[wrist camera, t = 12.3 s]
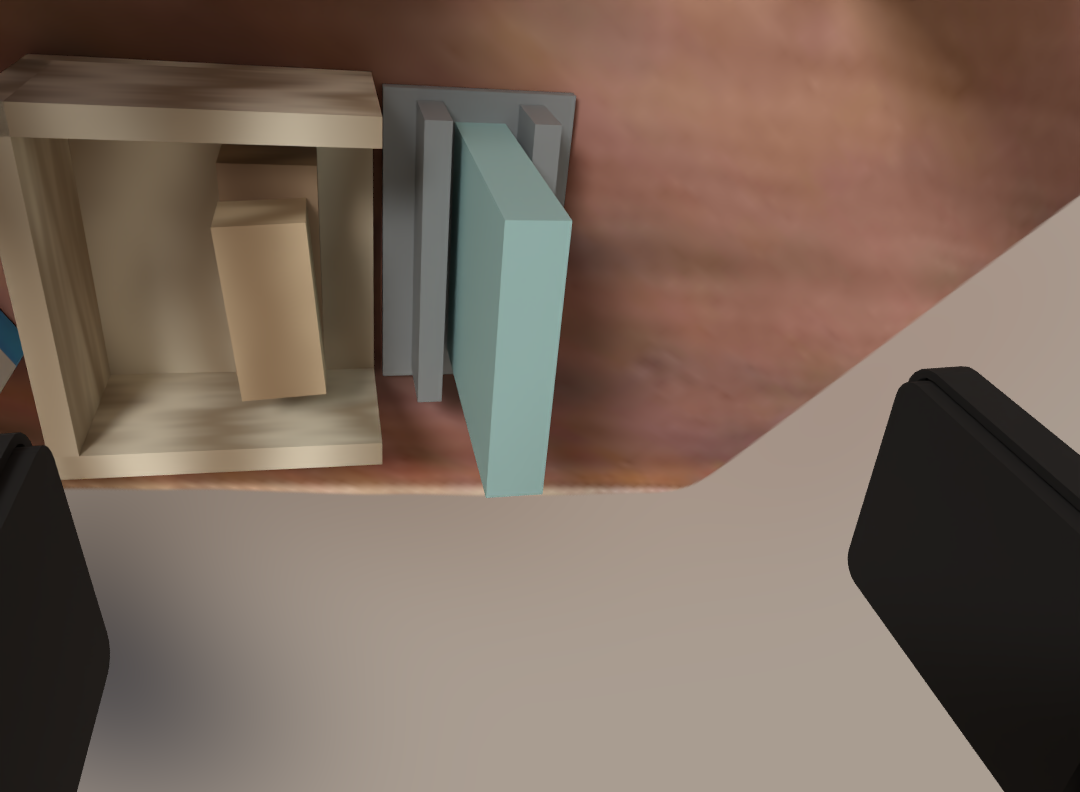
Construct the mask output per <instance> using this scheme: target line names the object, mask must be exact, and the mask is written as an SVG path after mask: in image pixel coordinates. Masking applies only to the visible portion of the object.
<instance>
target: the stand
mask: <svg viewBox="0 0 1080 792" xmlns="http://www.w3.org/2000/svg"><path fill="white" fill-rule="evenodd" d="M575 102H576V95H575V94H574V93H562V92H542V91H521V90H501V89H481V88H460V87H440V86H419V85H399V84H382V372H383V376H394V375H413V379H414V384H415V390H416V395H417V401H418V402H435V401H442V378H443V374H453V370H452V366H451V362H450V359H449V355H448V351H447V333H448V305H449V277H450V249H451V221H452V193H453V165H454V137H455V122H469V123H499V124H506V125H507V127H508V128H509V129H510V131H511V132H512V134H513V135H514V137H515V138H516V140H517V141H518V143H519V144H520V145H521V147H522V148H523V150H524V151H525V153H526V154H527V156H528V157H529V159H530V160H531V161H532V163H533V164H534V166H535V167H536V169H537V170H538V172H539V173H540V174H541V176H542V177H543V179H544V180H545V182H546V183H547V185H548V186H549V188H550V189H551V190H552V192H553V193H554V195H555V196H556V198H557V199H558V201H559V202H560V204H561V205H562V206H563V208H564V202H565V193H566V184H567V175H568V166H569V157H570V148H571V138H572V129H573V120H574V111H575Z"/></svg>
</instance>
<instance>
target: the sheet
mask: <svg viewBox="0 0 1080 792" xmlns="http://www.w3.org/2000/svg"><path fill="white" fill-rule="evenodd" d="M571 229H572V220H571V218H570V217H569V215H568V214H567V212H566V211H565V209H564V208H563V206H562V205H561V204H560V202H559V201H558V199H557V198H556V196H555V195H554V193H553V192H552V190H551V189H550V188H549V186H548V185H547V183H546V182H545V180H544V179H543V177H542V176H541V174H540V173H539V172H538V170H537V169H536V167H535V166H534V164H533V163H532V161H531V160H530V159H529V157H528V156H527V154H526V153H525V151H524V150H523V148H522V147H521V145H520V144H519V143H518V141H517V140H516V138H515V137H514V135H513V134H512V132H511V131H510V129H509V128H508V127H507V125H506V124H499V123H469V122H455V137H454V165H453V193H452V221H451V249H450V277H449V305H448V333H447V351H448V355H449V359H450V362H451V366H452V370H453V374H454V378H455V382H456V385H457V389H458V393H459V397H460V401H461V404H462V408H463V412H464V416H465V420H466V423H467V427H468V431H469V435H470V439H471V443H472V446H473V450H474V454H475V458H476V462H477V465H478V469H479V473H480V477H481V481H482V484H483V488H484V492H485V496H486V498H491V497H507V496H522V495H537V494H542V493H543V484H544V475H545V466H546V457H547V448H548V439H549V430H550V420H551V411H552V402H553V393H554V384H555V375H556V366H557V357H558V347H559V338H560V329H561V320H562V311H563V302H564V293H565V284H566V274H567V265H568V256H569V247H570V238H571Z"/></svg>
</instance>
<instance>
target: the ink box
mask: <svg viewBox="0 0 1080 792" xmlns="http://www.w3.org/2000/svg"><path fill="white" fill-rule="evenodd" d="M23 355H24V354H23V350H22V345H21V341H20V337H19V333H18V329H17V327H16V326H15V325H14V324H13V323H12V322H11V321H10V320H9V319H8V318H7V317H6V316H5V315H4V313H3V312H2V311H1V310H0V393H1V391H2V389H3V388H4V386H5V385H6V383H7V381H8V380H9V378H10V376H11V375H12V373H13V372H14V370H15V368H16V367H17V365H18V363H19V362H20V360H21V359H22V357H23Z"/></svg>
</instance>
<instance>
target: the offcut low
mask: <svg viewBox="0 0 1080 792" xmlns="http://www.w3.org/2000/svg"><path fill="white" fill-rule="evenodd" d="M216 171H217V181H218V192H219V202H225V201H247V200H268V199H289V198H306V201H307V209H308V217H309V226H310V234H311V242H312V251H313V259H314V267H315V276H316V284H317V292H318V301H319V309H320V317H321V326H322V334H323V342H324V326H323V300H322V273H321V247H320V221H319V194H318V168H317V147H312V146H280V145H249V144H222V145H221V148H220V151H219V154H218V158H217V161H216ZM236 375H237V370H236Z"/></svg>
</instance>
